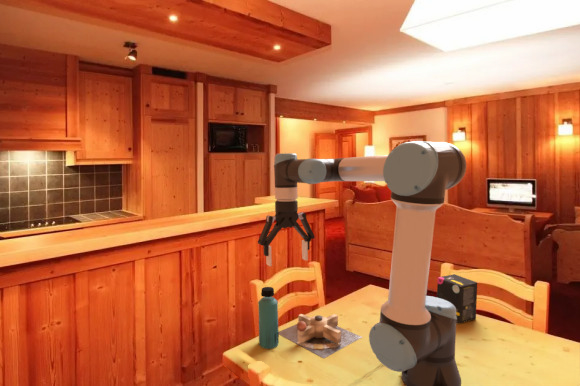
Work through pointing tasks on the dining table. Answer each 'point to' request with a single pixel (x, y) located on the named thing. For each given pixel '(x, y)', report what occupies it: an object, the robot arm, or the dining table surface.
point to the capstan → (318, 328)
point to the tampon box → (459, 295)
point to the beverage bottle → (268, 319)
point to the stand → (320, 341)
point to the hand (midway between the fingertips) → (287, 262)
